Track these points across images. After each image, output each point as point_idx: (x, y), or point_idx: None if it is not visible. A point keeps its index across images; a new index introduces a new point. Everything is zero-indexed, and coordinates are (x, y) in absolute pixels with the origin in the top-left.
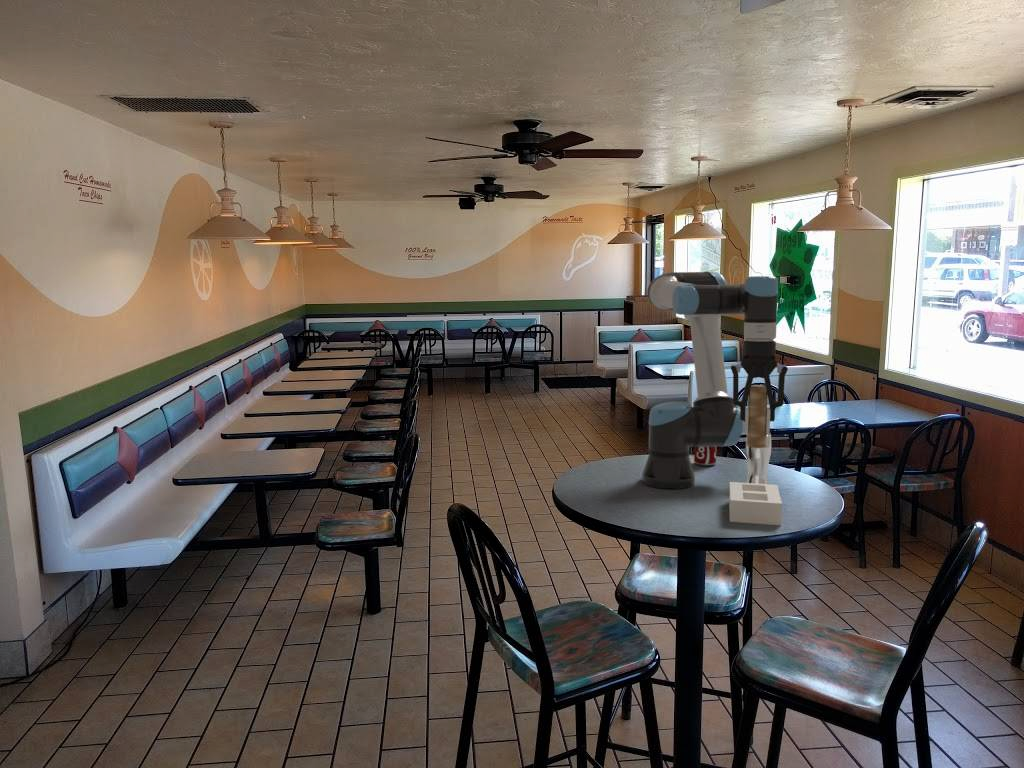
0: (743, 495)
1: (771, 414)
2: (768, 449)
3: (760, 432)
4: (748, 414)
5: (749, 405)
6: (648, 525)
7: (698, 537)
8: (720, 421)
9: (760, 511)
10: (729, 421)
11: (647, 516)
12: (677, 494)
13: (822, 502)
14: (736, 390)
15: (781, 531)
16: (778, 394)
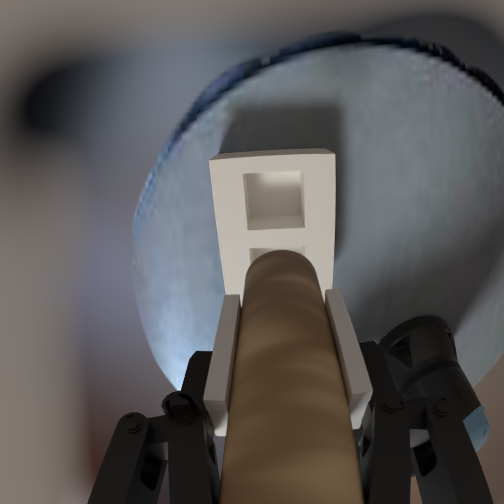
0: (302, 224)
1: (203, 381)
2: None
3: (266, 289)
4: (345, 363)
5: (349, 417)
6: (461, 101)
7: (376, 43)
8: None
9: (260, 153)
10: None
11: (465, 152)
12: (410, 295)
13: (158, 314)
14: (465, 482)
15: (216, 116)
16: (132, 486)
